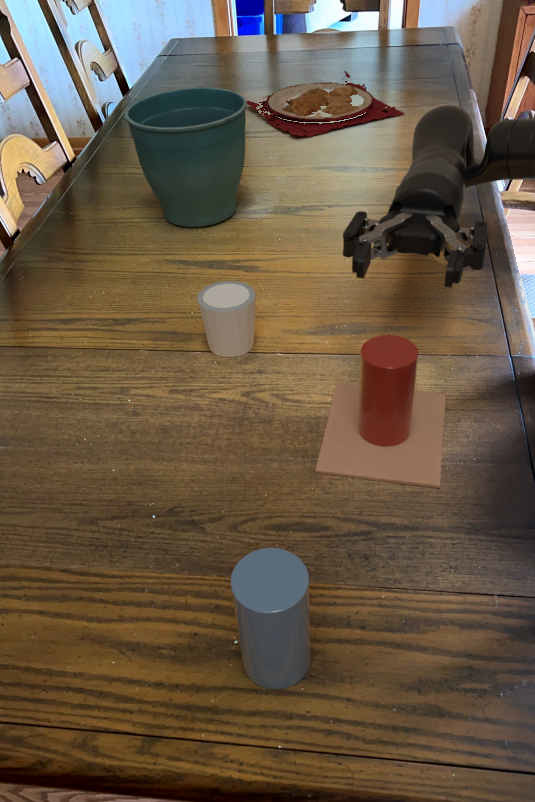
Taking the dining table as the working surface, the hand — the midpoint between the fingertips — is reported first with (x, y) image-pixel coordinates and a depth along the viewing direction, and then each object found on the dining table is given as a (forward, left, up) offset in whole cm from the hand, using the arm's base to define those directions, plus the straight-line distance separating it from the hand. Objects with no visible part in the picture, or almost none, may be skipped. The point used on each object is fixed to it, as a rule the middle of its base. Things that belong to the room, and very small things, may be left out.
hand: (403, 274), depth 69 cm
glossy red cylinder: (+1, +6, -15) cm, 16 cm away
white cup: (+21, -7, -16) cm, 27 cm away
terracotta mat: (+1, +6, -15) cm, 16 cm away
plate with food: (+24, -92, -16) cm, 96 cm away
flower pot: (+36, -42, -16) cm, 57 cm away
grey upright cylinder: (+6, +33, -15) cm, 37 cm away
